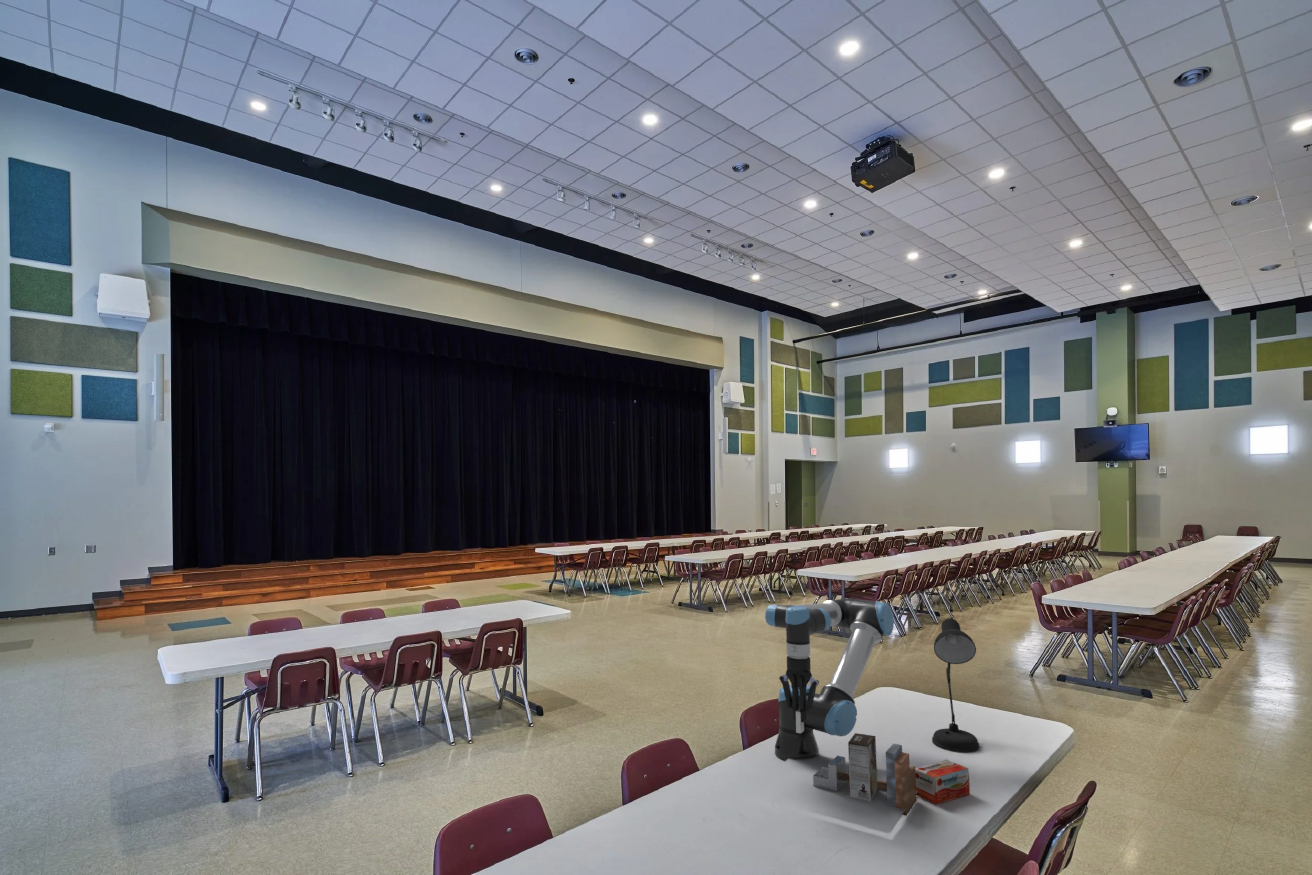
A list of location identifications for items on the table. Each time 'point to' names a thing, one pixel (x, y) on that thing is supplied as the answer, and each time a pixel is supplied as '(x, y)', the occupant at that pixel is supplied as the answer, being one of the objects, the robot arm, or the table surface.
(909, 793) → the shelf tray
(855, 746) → the coffee box
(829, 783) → the grey stepped block
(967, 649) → the desk lamp
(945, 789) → the medicine box
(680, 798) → the table surface
